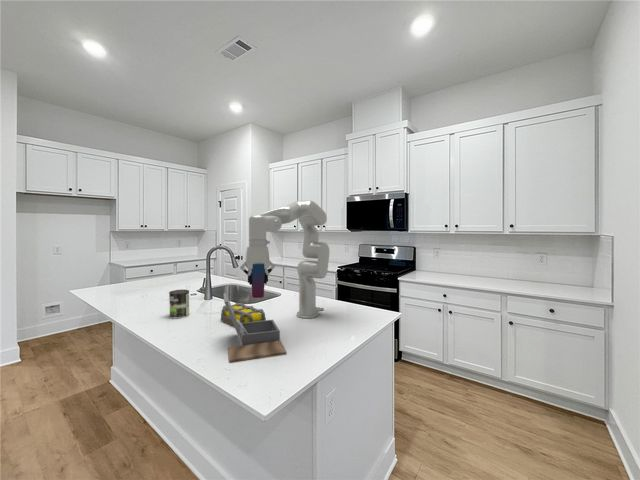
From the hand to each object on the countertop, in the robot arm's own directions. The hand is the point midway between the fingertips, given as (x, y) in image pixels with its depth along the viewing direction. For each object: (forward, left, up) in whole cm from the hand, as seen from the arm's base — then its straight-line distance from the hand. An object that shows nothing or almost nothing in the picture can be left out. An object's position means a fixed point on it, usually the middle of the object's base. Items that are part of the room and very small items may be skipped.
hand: (258, 283), depth 128 cm
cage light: (+4, -27, -26) cm, 38 cm away
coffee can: (+37, -50, -26) cm, 68 cm away
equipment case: (+1, -3, -26) cm, 26 cm away
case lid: (+11, -3, -13) cm, 17 cm away
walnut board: (+2, +12, -26) cm, 29 cm away
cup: (0, 0, -6) cm, 6 cm away
